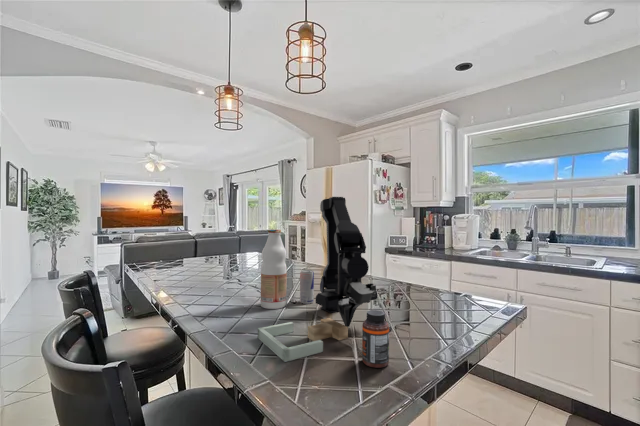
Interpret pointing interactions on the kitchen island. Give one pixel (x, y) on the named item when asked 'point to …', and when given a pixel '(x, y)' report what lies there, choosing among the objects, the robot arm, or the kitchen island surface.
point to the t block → (327, 330)
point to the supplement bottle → (375, 340)
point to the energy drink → (306, 286)
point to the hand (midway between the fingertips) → (347, 326)
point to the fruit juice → (273, 272)
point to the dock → (281, 350)
